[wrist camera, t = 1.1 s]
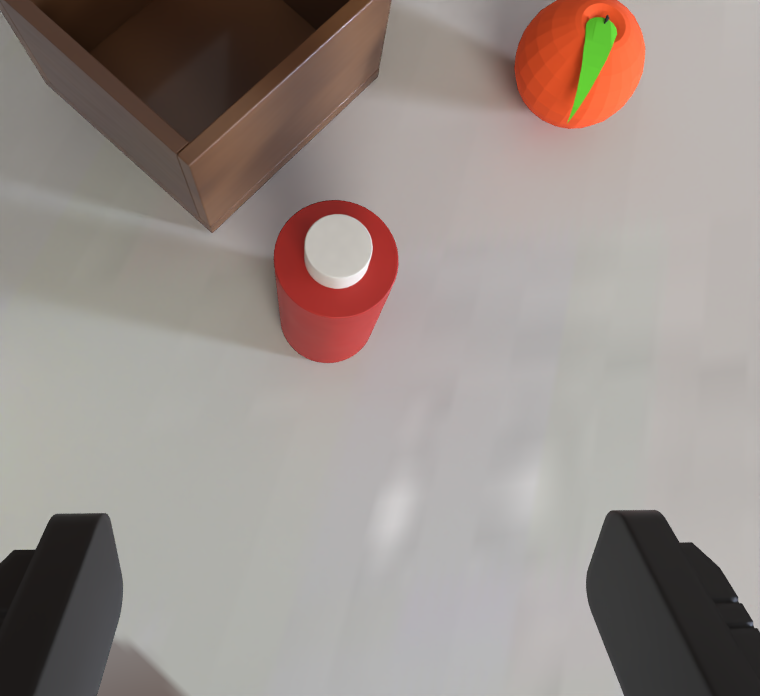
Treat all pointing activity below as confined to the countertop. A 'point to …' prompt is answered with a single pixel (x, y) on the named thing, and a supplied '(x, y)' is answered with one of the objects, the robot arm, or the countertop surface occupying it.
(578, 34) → the clementine
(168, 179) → the chest
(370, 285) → the sauce bottle
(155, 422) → the countertop surface
